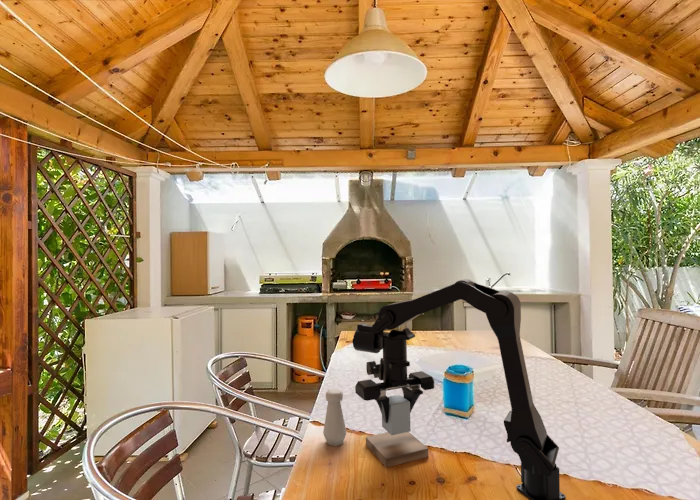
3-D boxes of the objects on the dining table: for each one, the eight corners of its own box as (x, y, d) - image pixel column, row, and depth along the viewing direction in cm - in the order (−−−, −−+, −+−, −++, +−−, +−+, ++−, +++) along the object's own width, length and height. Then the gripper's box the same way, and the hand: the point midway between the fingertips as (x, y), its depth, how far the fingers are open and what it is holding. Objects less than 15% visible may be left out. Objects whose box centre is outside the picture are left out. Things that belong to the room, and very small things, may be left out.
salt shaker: (343, 448, 98) (342, 395, 98) (321, 446, 99) (320, 394, 99) (348, 437, 103) (347, 387, 103) (327, 435, 105) (326, 386, 104)
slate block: (410, 431, 95) (409, 401, 95) (391, 435, 93) (391, 405, 93) (400, 422, 100) (399, 394, 99) (382, 426, 98) (381, 397, 98)
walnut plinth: (428, 456, 93) (428, 448, 93) (386, 467, 89) (386, 458, 89) (404, 436, 104) (404, 428, 103) (365, 444, 99) (365, 436, 99)
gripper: (411, 343, 107) (412, 402, 107) (346, 352, 100) (347, 414, 100) (435, 354, 97) (436, 418, 97) (364, 364, 90) (365, 433, 90)
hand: (396, 420), depth 96 cm, fingers closed on slate block, 5 cm apart
